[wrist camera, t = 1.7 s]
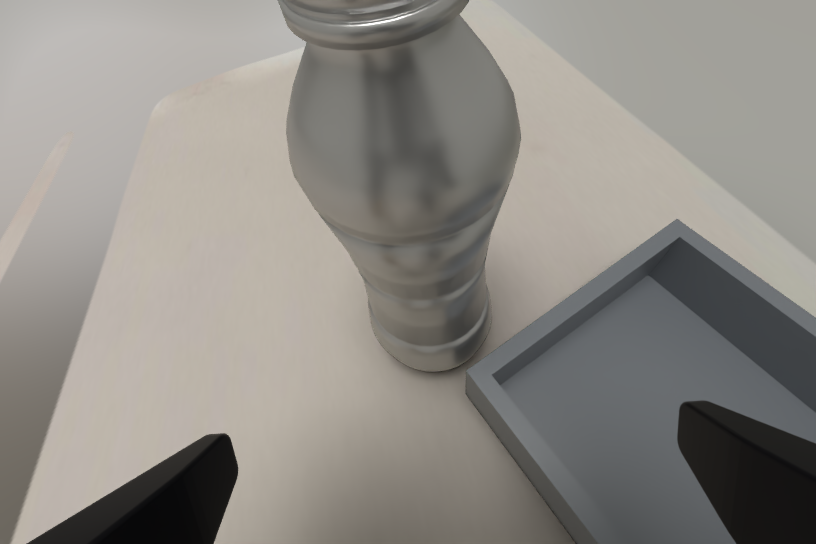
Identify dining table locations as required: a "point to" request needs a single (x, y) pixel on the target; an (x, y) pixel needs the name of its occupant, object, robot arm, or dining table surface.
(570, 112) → the dining table surface
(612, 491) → the tote
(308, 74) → the plastic bottle
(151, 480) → the robot arm
